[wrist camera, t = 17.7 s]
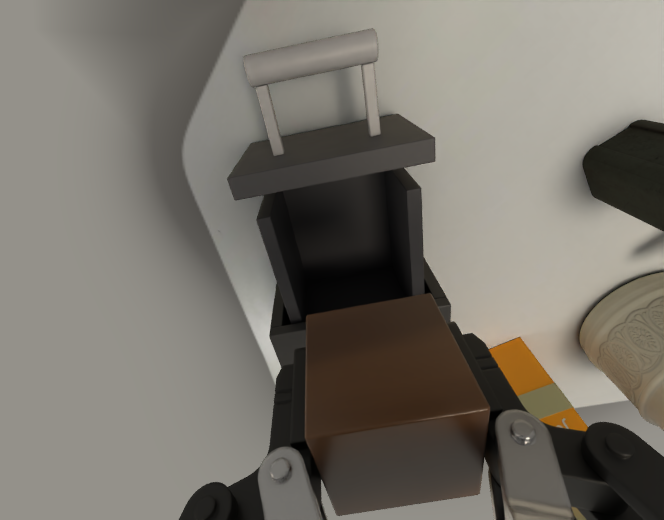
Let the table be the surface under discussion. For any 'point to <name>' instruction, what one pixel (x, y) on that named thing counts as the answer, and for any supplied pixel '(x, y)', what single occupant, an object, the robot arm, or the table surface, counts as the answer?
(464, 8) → the table surface
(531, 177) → the table surface
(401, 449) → the block
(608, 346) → the jar
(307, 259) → the basket
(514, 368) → the orange juice
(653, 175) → the candle
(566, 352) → the table surface
